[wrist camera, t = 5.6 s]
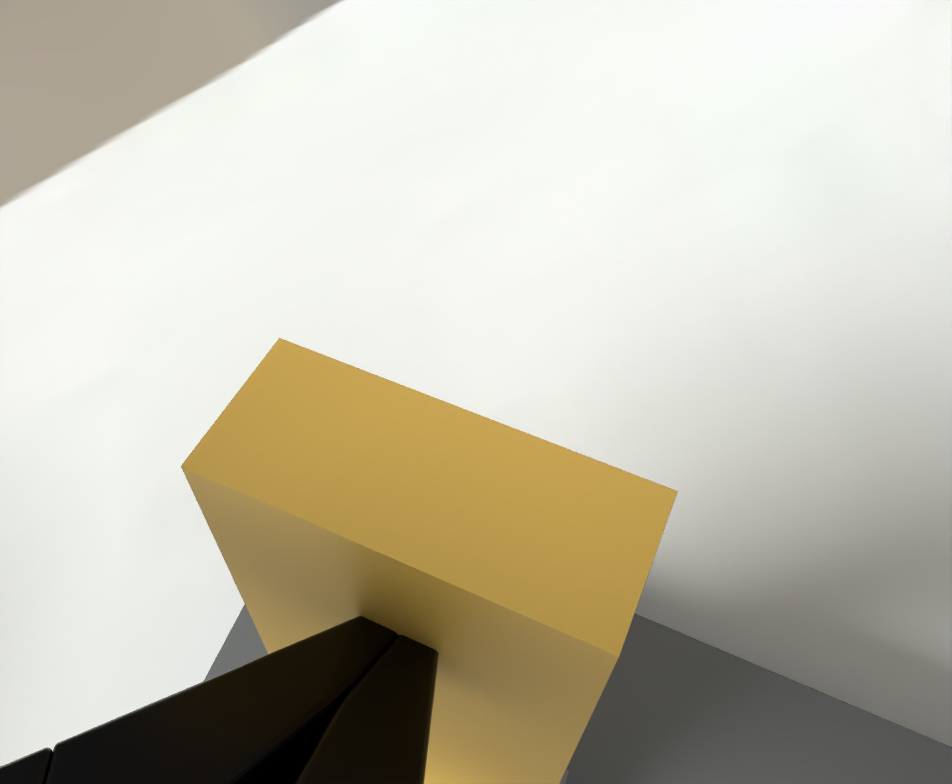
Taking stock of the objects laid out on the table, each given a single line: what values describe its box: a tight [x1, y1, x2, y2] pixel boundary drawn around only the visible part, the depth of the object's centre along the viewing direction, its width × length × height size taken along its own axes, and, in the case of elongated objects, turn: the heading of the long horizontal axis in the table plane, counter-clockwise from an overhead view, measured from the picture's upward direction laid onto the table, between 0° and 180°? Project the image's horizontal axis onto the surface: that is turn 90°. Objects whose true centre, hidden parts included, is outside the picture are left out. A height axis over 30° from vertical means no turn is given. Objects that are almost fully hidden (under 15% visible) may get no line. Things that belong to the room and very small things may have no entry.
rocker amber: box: [181, 338, 678, 784], centre depth 12 cm, size 2×4×11 cm, turn 66°
